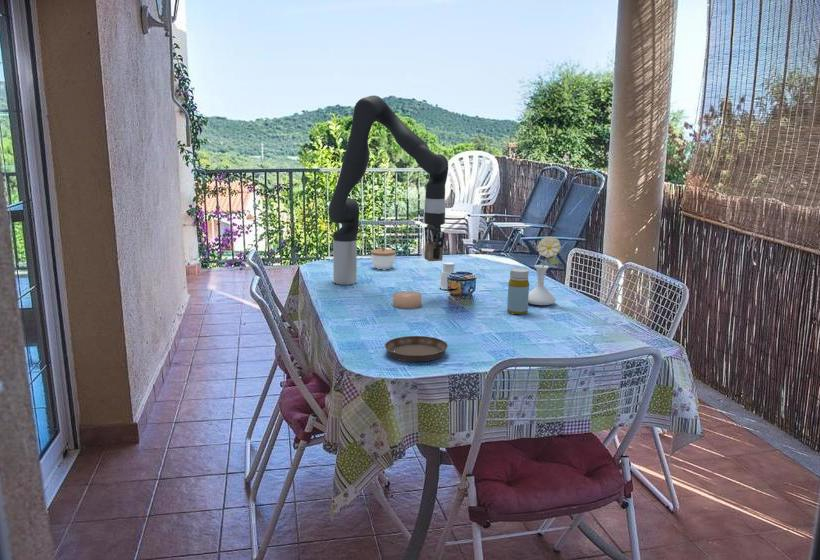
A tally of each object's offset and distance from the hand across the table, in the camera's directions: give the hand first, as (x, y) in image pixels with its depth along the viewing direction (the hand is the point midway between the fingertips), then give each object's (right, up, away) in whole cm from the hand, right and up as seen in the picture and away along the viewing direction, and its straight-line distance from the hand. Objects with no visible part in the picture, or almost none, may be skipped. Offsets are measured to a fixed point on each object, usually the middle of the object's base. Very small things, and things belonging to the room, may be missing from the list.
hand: (433, 257), depth 269 cm
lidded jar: (-20, -4, +52) cm, 56 cm away
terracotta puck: (-10, -17, -8) cm, 21 cm away
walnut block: (0, -1, 0) cm, 1 cm away
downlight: (+6, -12, +18) cm, 23 cm away
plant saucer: (-7, -30, -61) cm, 68 cm away
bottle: (+28, -20, -15) cm, 38 cm away
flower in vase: (+39, -17, -3) cm, 43 cm away
